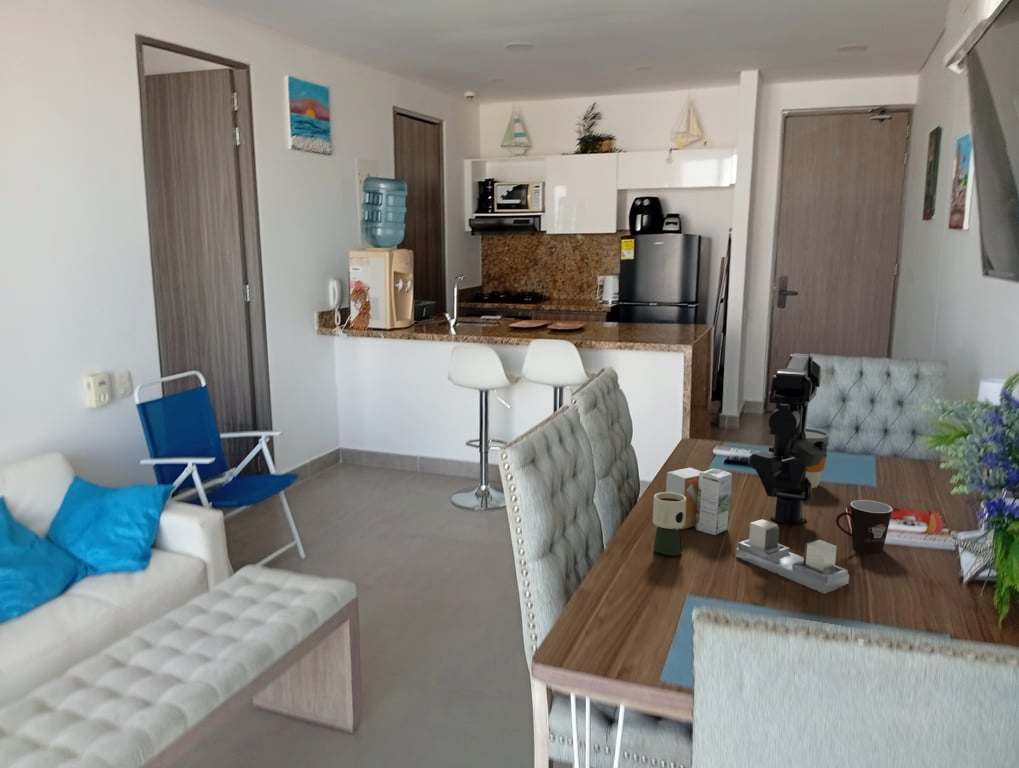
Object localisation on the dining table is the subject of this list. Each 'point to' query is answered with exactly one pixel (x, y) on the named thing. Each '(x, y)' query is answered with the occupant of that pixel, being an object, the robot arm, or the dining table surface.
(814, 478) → the reusable coffee cup
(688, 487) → the small box
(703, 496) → the syrup box
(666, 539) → the character mug
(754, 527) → the light grey upright block
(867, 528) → the coffee mug
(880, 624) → the dining table surface
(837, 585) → the rail
